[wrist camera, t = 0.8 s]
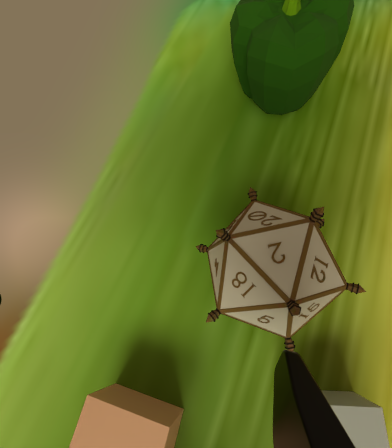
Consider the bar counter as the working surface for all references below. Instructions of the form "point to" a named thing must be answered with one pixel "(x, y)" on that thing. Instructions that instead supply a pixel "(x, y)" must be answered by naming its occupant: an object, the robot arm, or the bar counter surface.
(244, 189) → the bar counter surface
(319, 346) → the bar counter surface
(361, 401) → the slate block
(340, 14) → the bell pepper
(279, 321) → the game die
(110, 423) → the terracotta block
